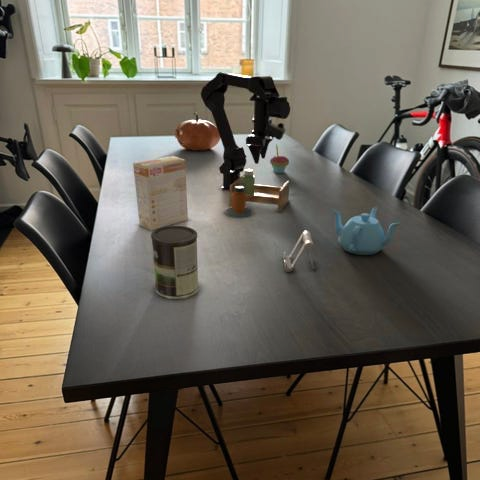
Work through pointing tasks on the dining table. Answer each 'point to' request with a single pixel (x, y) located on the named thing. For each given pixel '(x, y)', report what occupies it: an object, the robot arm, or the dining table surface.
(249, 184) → the green bottle
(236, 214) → the coaster
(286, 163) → the cupcake
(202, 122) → the pumpkin
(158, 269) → the coffee can
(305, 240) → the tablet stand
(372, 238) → the teapot
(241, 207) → the amber bottle
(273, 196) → the spice rack
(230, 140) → the robot arm
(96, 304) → the dining table surface
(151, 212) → the coffeecake box
